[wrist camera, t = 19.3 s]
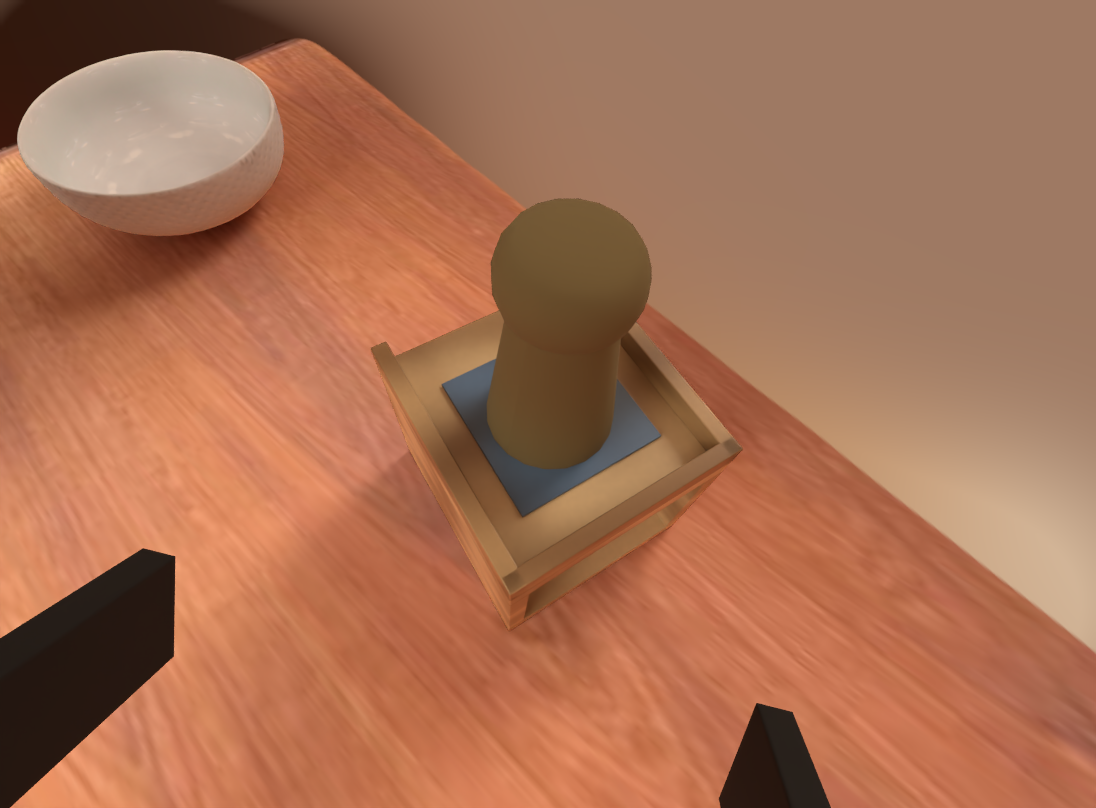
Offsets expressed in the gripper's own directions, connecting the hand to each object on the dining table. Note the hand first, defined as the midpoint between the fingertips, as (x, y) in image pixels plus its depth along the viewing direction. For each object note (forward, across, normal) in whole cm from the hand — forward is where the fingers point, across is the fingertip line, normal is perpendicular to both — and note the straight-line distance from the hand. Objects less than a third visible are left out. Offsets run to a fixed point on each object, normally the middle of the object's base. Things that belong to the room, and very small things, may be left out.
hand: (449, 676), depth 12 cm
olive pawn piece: (+15, 0, +2) cm, 15 cm away
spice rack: (+22, 0, -6) cm, 23 cm away
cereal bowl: (+36, -33, +7) cm, 49 cm away
